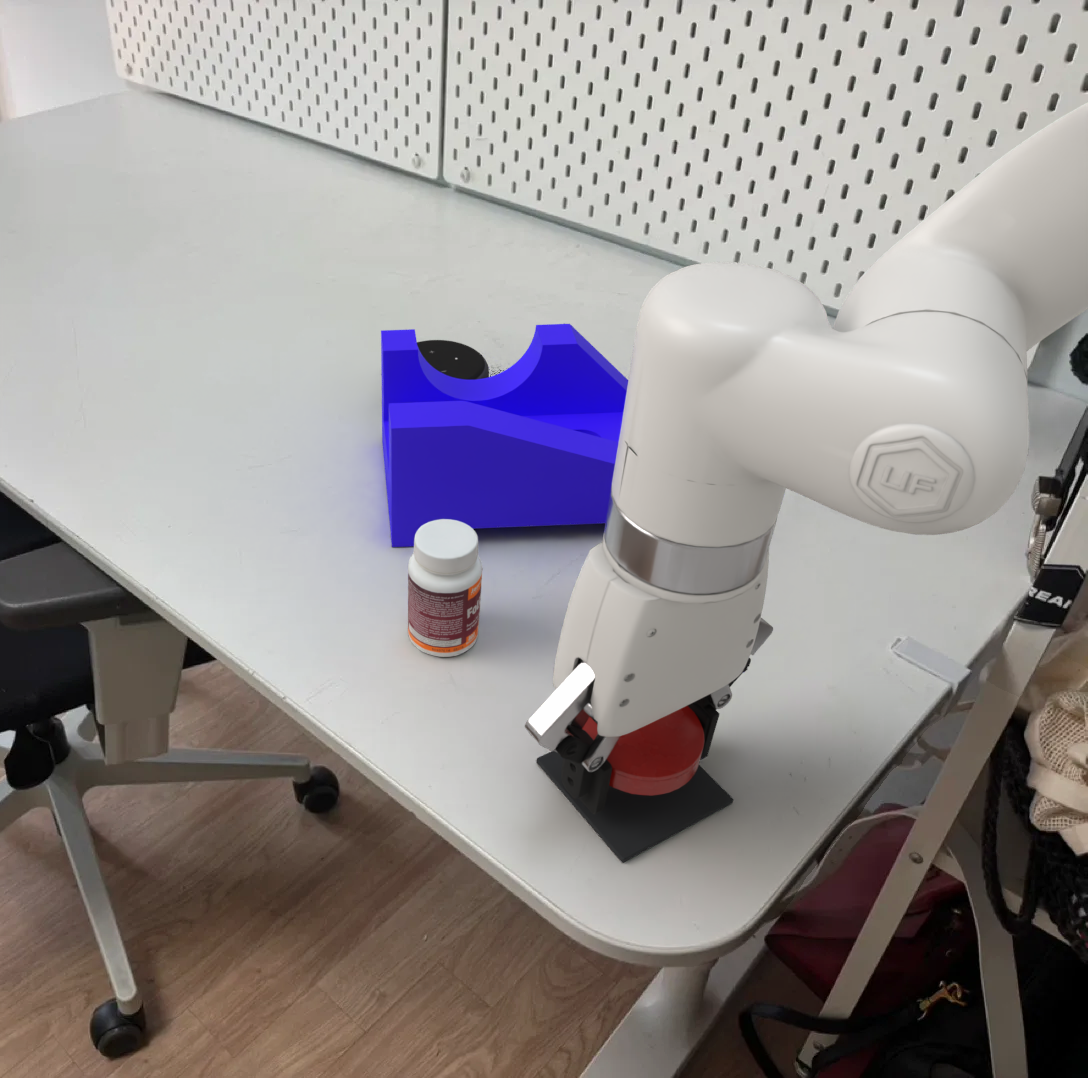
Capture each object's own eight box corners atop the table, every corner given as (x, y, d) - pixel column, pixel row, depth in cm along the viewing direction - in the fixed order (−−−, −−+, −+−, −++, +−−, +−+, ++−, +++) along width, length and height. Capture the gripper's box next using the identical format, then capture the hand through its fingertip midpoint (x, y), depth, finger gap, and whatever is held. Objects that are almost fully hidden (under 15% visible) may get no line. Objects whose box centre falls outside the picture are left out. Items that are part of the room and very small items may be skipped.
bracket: (391, 547, 80) (391, 428, 74) (382, 442, 91) (381, 330, 84) (673, 535, 81) (698, 416, 74) (631, 433, 91) (650, 320, 85)
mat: (732, 803, 62) (734, 799, 62) (622, 863, 59) (623, 859, 59) (641, 711, 68) (641, 707, 67) (535, 762, 65) (536, 758, 64)
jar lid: (551, 729, 63) (554, 710, 62) (644, 685, 65) (648, 667, 64) (629, 815, 58) (633, 796, 57) (725, 764, 60) (730, 745, 59)
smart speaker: (501, 419, 93) (504, 379, 91) (402, 436, 91) (402, 395, 89) (468, 368, 100) (469, 329, 97) (374, 383, 98) (374, 344, 96)
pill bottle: (480, 659, 71) (487, 562, 66) (407, 659, 71) (408, 562, 66) (476, 609, 75) (482, 514, 70) (407, 609, 75) (407, 514, 70)
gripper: (764, 436, 57) (703, 672, 68) (489, 542, 51) (471, 782, 62) (880, 513, 52) (792, 753, 63) (589, 641, 45) (550, 883, 57)
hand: (634, 766), depth 62 cm, fingers closed on jar lid, 6 cm apart
